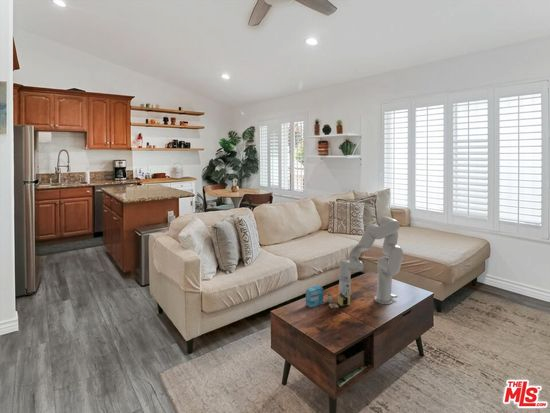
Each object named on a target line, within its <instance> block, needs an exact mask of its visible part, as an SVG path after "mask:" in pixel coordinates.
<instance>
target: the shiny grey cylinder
mask: <svg viewBox="0 0 550 413" xmlns="http://www.w3.org/2000/svg"><path fill="white" fill-rule="evenodd" d="M327 303H328V304H332V293H327Z"/></svg>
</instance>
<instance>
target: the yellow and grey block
mask: <svg viewBox="0 0 550 413" xmlns="http://www.w3.org/2000/svg"><path fill="white" fill-rule="evenodd" d="M345 297H346V296H345ZM343 299H344V295H343V294H340V293H339V294H338V295H337V303H338V306H344V305H343ZM350 305H351V295H349V298H348V304H347V305H346V306H350Z"/></svg>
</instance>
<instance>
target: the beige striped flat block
mask: <svg viewBox="0 0 550 413" xmlns="http://www.w3.org/2000/svg"><path fill="white" fill-rule="evenodd" d="M328 307H330V309H338V308H339V304H337V303H328Z"/></svg>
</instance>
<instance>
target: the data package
mask: <svg viewBox="0 0 550 413" xmlns="http://www.w3.org/2000/svg"><path fill="white" fill-rule="evenodd" d="M323 303H324V288H323V287H322V286H319V285H316V286H313V287H309V288H307V289H306V290H305V306H307V307H309V308H311V309H312V308H314V307H317V306H321V305H322V304H323Z"/></svg>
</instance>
